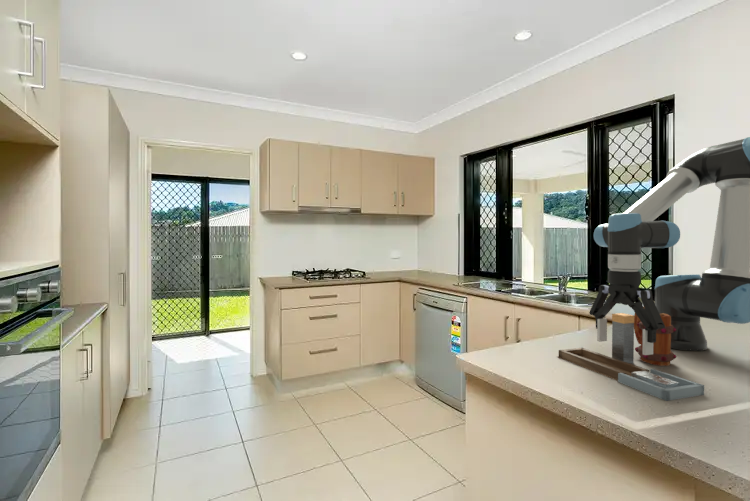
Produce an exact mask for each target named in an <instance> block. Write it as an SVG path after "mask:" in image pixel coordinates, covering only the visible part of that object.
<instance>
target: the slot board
mask: <svg viewBox="0 0 750 501" xmlns="http://www.w3.org/2000/svg"><path fill="white" fill-rule="evenodd" d="M556 358H559V359H561V360H564V361H566V362H569V363H571V364H574V365H576V366H579V367H581V368H584V369H586V370H589V371H591V372H595V373H596V374H599V375H602V376H604V377H607V378H609V379H611V380H612V379H613V380H615V381H617V382H618V373H623V374H626V375H629V376H631V372H638V371H647V372H649V373H650V369H648V368H645V367H641V366H638V365H636V364H634V363H632V364H630V363H627V362H624V361H621V360H618V359H615V358H612V356H608V355H605V354H602V353H600V352H595V351H593V350H590V349H587V348H584V347H577V348H565V349H559V350H558V355H557V356H556Z"/></svg>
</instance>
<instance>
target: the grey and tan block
mask: <svg viewBox="0 0 750 501" xmlns="http://www.w3.org/2000/svg"><path fill="white" fill-rule="evenodd" d="M634 315H635V314H633V315H632V314H630V313H624V312H619V313H617V312H616V313H612V314H611V322H612V324H611V326H612V328H611V329H612V330H611V331H612V332H611V342H612V344H611V357H612V358H615V359H618V360H621V361H624V362H627V363H630V364H635V362H634V359H635V358H634V357H635V356H634V355H635V354H634V353H635V352H634V351H635V343H634V342H635V331H634Z"/></svg>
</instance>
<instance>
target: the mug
mask: <svg viewBox="0 0 750 501" xmlns="http://www.w3.org/2000/svg"><path fill="white" fill-rule="evenodd" d="M633 315H634V336H635V338H636V341H637V343H638V345H639V346H636V347H634V351H635V352H636V353H637V354H638V356H639V358H640V361H641V362H644V363H648V364H650V365H654V366H661V367H663V366H666V367H669V366H670V365H671V362H672V361H674V360H675V359H676V358H677V355H676V354H675V353H674V352H673V351H672V350H671V349H672V348H671V333H673V332H675V331H676V328H674V327H673V325H671V316H670V315H668V314H664V313H661V314H660V316H661V318H662V321H663V323H664V325H665V328H662V329H657V330H656V342H655V343H653V354H652V355H643V329H645V326H644V325H643V323H642V322H641V320H640V319H639V318H638V316H637V315H636V313H635V312H634V314H633Z"/></svg>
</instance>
